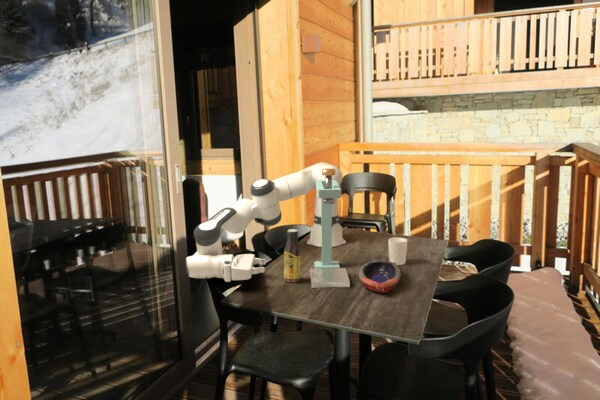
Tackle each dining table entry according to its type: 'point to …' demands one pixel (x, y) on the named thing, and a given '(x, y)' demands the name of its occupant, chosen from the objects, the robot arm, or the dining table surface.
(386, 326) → the dining table surface
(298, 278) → the sauce bottle
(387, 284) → the dish
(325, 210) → the press frame
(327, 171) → the ram
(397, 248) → the white cup
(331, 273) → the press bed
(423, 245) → the dining table surface
